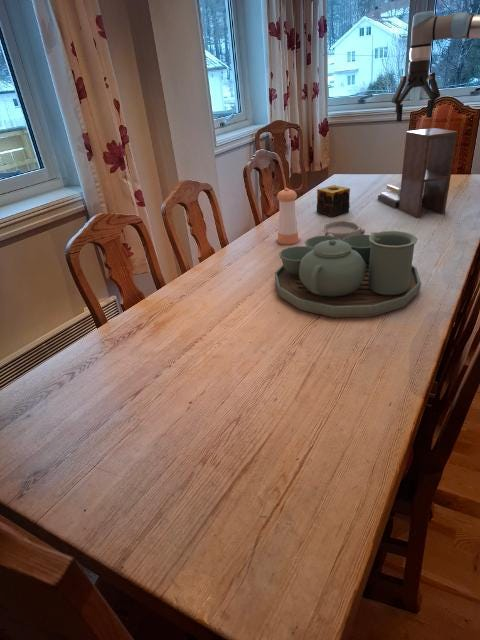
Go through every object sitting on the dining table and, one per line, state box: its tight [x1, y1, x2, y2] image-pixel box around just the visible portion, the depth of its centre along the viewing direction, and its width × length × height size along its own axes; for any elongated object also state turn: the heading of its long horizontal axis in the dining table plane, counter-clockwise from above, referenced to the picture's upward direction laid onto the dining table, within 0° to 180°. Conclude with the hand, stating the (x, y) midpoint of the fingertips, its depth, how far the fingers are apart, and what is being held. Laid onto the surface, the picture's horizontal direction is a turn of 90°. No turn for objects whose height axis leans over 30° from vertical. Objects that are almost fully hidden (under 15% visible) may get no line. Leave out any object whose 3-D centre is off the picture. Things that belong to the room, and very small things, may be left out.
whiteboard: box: [377, 190, 423, 209], centre depth 187 cm, size 15×14×3 cm
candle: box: [316, 184, 351, 218], centre depth 181 cm, size 10×10×10 cm
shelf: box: [398, 127, 459, 218], centre depth 168 cm, size 14×12×30 cm
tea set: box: [274, 230, 422, 318], centre depth 119 cm, size 40×40×16 cm
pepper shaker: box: [276, 187, 299, 245], centre depth 153 cm, size 7×7×19 cm
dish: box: [322, 220, 366, 241], centre depth 153 cm, size 14×14×5 cm
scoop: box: [386, 184, 401, 197], centre depth 187 cm, size 21×6×4 cm, turn 11°
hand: (414, 119), depth 178 cm, fingers open, 13 cm apart
